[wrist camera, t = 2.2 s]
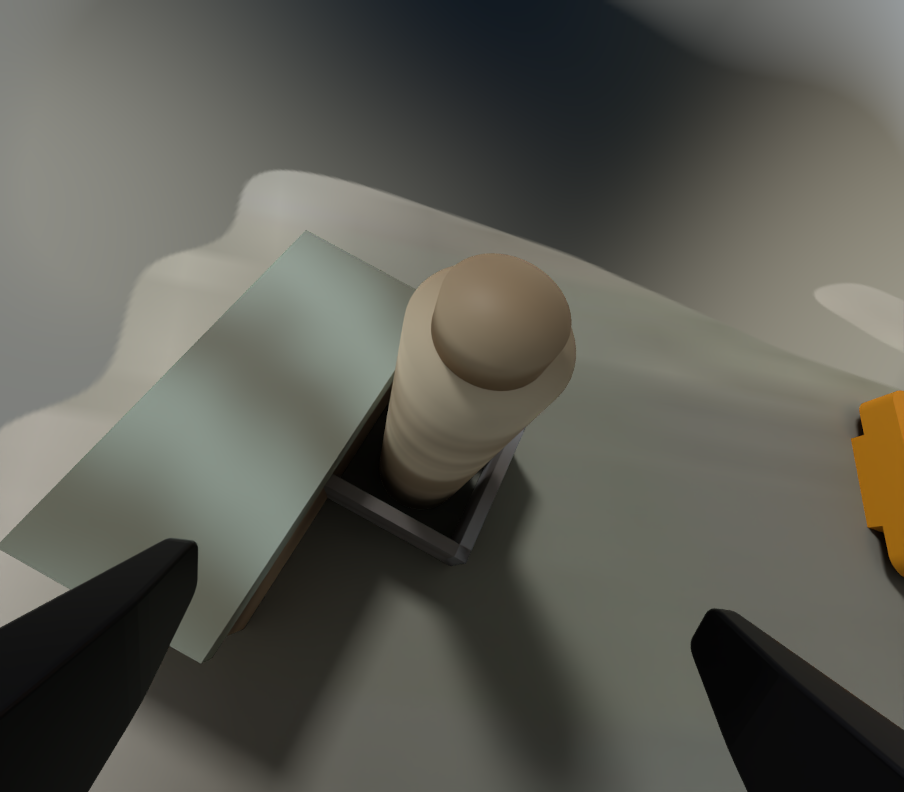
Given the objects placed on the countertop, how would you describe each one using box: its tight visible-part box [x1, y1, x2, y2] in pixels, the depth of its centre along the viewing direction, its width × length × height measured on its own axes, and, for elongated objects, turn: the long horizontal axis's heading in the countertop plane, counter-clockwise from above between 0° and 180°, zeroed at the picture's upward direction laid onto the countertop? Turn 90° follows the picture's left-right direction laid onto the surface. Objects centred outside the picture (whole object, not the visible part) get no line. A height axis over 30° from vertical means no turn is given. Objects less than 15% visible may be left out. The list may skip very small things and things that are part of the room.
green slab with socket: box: [0, 230, 526, 664], centre depth 17 cm, size 15×12×5 cm
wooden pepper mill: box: [379, 253, 576, 510], centre depth 14 cm, size 4×4×13 cm
